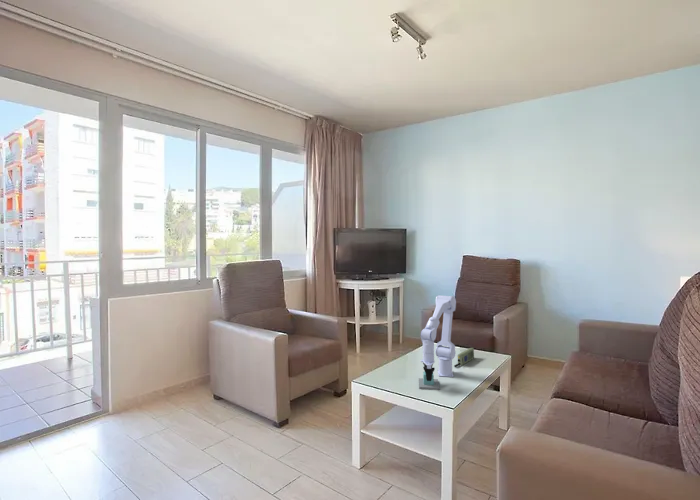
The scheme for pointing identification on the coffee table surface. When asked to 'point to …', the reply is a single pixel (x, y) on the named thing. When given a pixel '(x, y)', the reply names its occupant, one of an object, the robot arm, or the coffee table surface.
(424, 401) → the coffee table surface
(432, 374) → the teal block
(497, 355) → the coffee table surface
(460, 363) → the handheld radio
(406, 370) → the coffee table surface
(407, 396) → the coffee table surface
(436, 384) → the slate mat
